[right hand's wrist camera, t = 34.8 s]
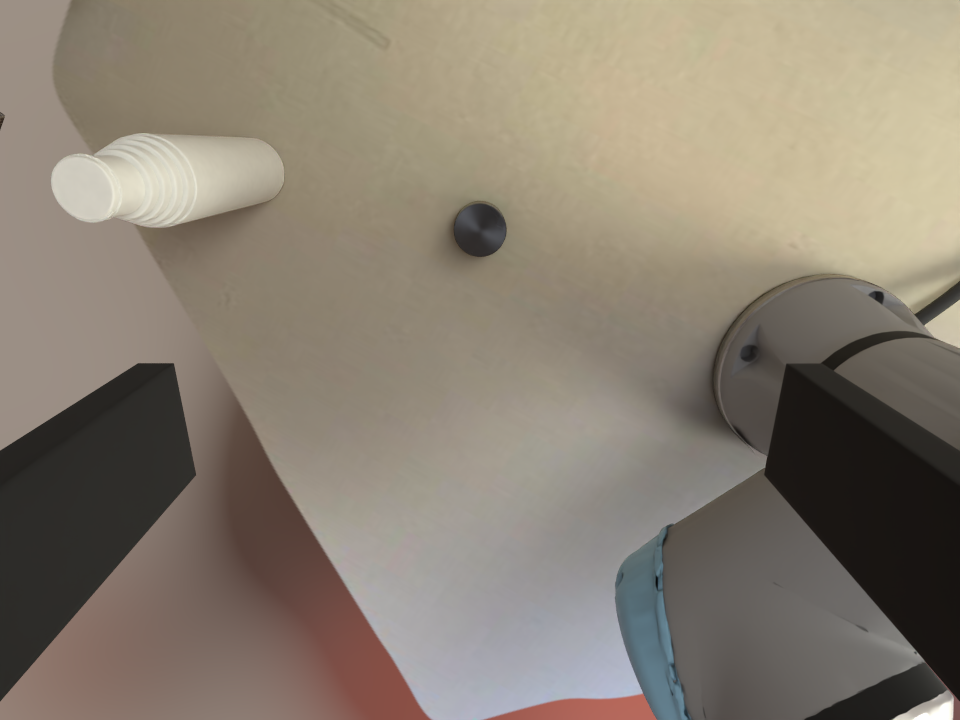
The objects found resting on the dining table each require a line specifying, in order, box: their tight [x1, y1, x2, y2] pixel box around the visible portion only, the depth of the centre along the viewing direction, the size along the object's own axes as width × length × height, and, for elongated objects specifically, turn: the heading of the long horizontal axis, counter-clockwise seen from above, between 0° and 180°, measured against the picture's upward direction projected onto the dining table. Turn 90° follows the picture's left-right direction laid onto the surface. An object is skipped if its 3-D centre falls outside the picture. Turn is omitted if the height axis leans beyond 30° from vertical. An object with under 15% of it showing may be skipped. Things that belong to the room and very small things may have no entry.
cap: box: [454, 201, 506, 257], centre depth 41 cm, size 4×4×2 cm
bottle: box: [51, 133, 284, 228], centre depth 32 cm, size 4×4×19 cm
